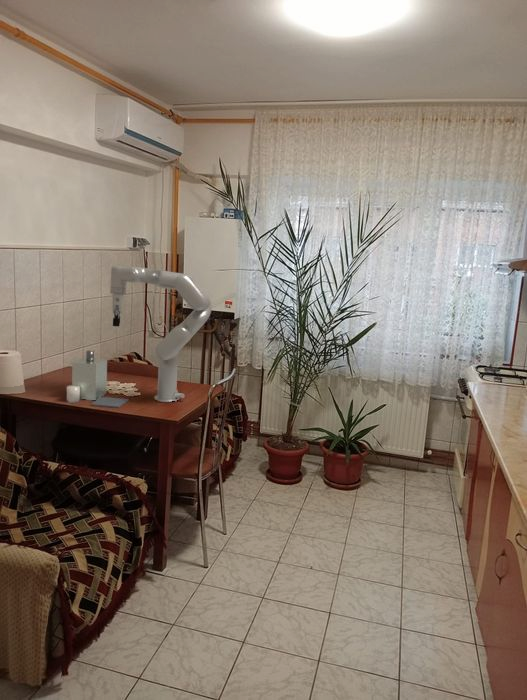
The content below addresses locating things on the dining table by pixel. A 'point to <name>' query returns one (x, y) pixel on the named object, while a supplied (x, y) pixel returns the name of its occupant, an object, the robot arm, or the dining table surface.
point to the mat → (109, 402)
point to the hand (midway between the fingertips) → (116, 324)
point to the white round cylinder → (73, 393)
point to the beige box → (90, 376)
